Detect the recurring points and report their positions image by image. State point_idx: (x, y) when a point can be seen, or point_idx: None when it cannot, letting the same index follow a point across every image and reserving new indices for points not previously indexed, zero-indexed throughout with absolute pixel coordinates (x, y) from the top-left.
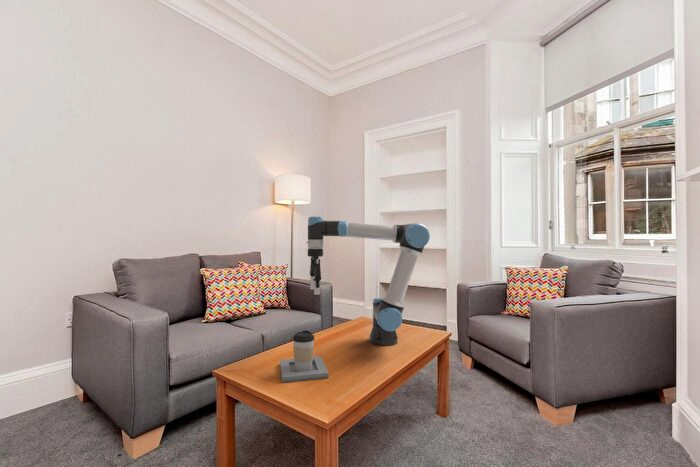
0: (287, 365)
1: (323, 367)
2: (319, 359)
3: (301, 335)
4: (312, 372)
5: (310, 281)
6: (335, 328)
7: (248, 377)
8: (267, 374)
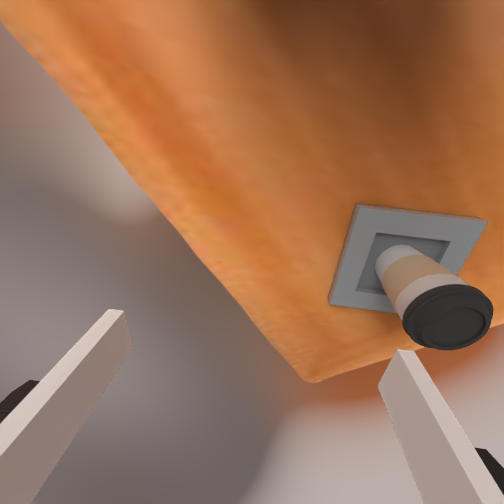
0: (374, 297)
1: (444, 223)
2: (382, 218)
3: (458, 335)
4: (454, 257)
5: (69, 437)
6: (24, 33)
7: (363, 352)
8: (368, 325)
